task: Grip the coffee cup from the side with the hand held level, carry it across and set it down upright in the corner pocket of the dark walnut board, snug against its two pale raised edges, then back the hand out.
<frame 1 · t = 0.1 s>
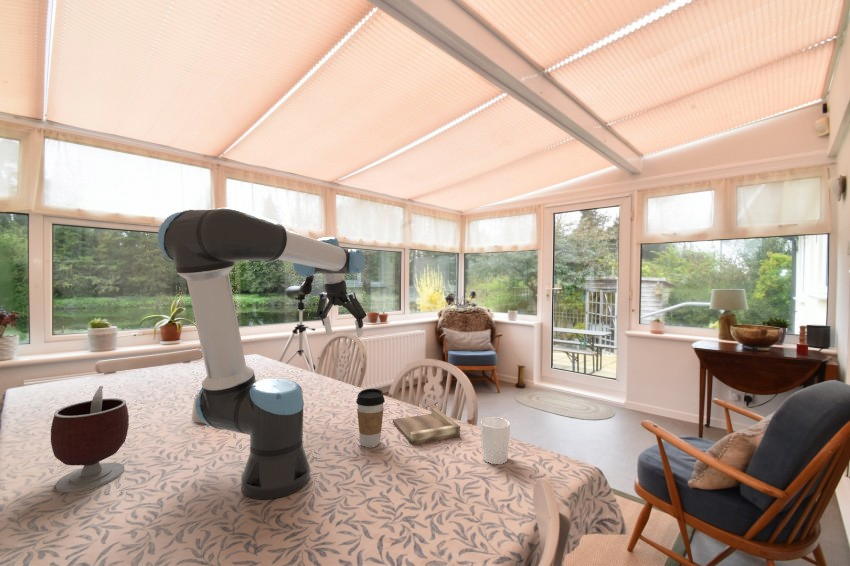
hand: (344, 334, 138), 28 cm above the table, tool tilted 20°, fingers open, 13 cm apart
coffee cup: (370, 443, 110), on the table
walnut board: (424, 429, 120), on the table
white cup: (494, 459, 101), on the table
mate gourd: (92, 477, 90), on the table
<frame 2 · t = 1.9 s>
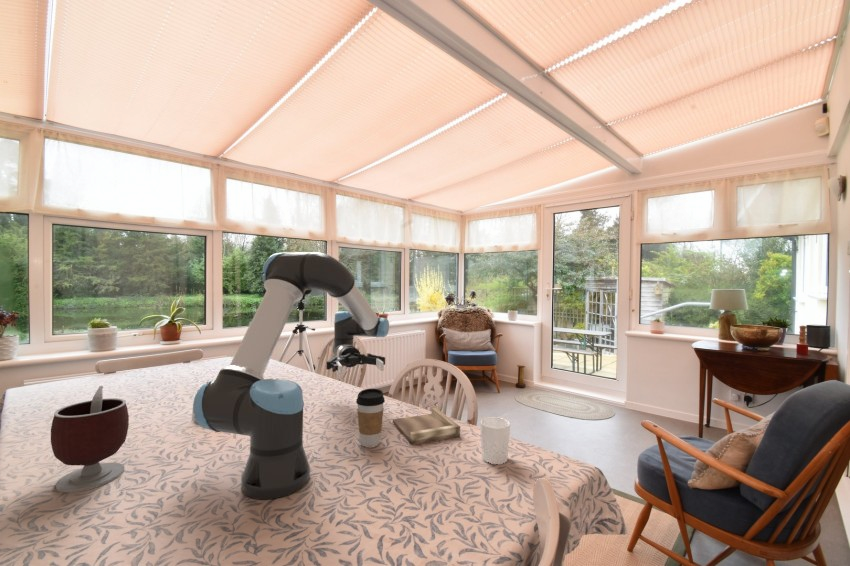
hand: (362, 368, 119), 20 cm above the table, tool horizontal, fingers open, 13 cm apart
nothing on the table moved.
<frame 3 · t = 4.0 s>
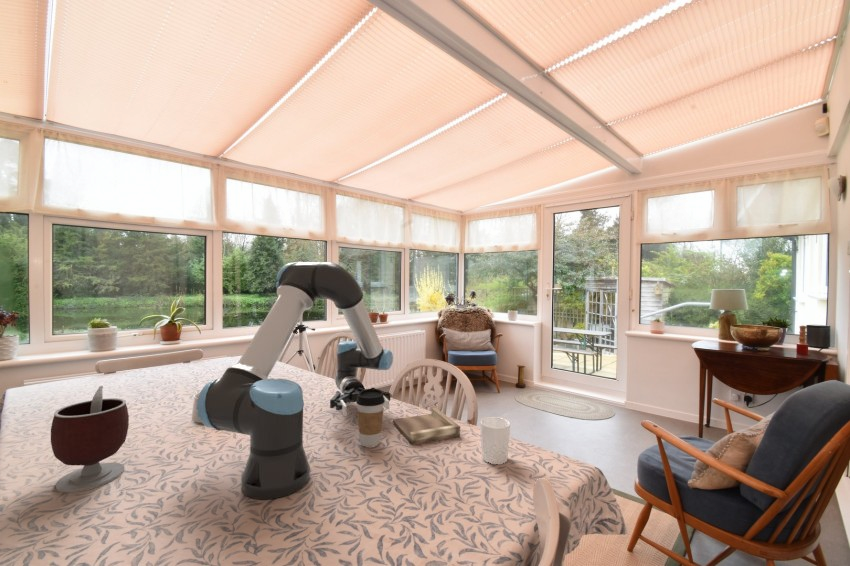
hand: (367, 407, 115), 8 cm above the table, tool horizontal, fingers open, 13 cm apart
nothing on the table moved.
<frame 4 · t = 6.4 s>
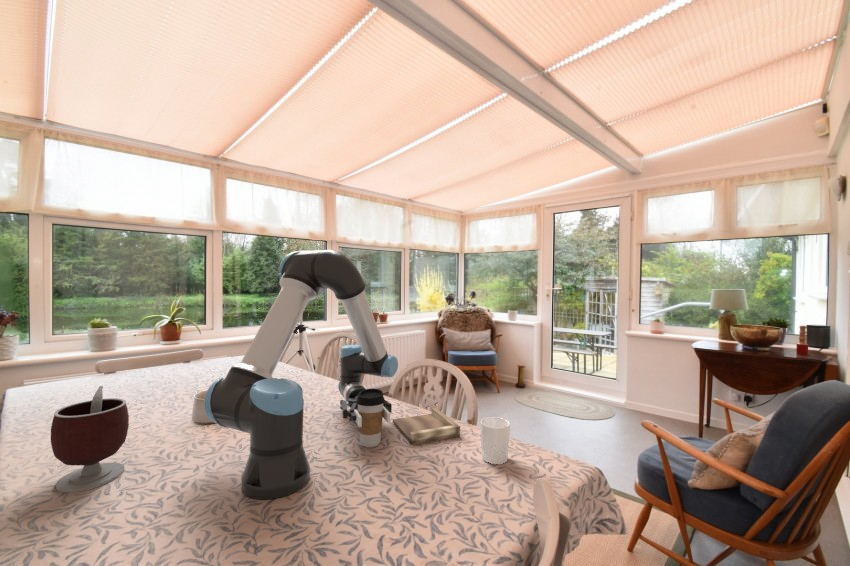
hand: (374, 420, 105), 9 cm above the table, tool horizontal, fingers closed on coffee cup, 8 cm apart
coffee cup: (370, 443, 110), on the table, touching gripper
everything else where it was.
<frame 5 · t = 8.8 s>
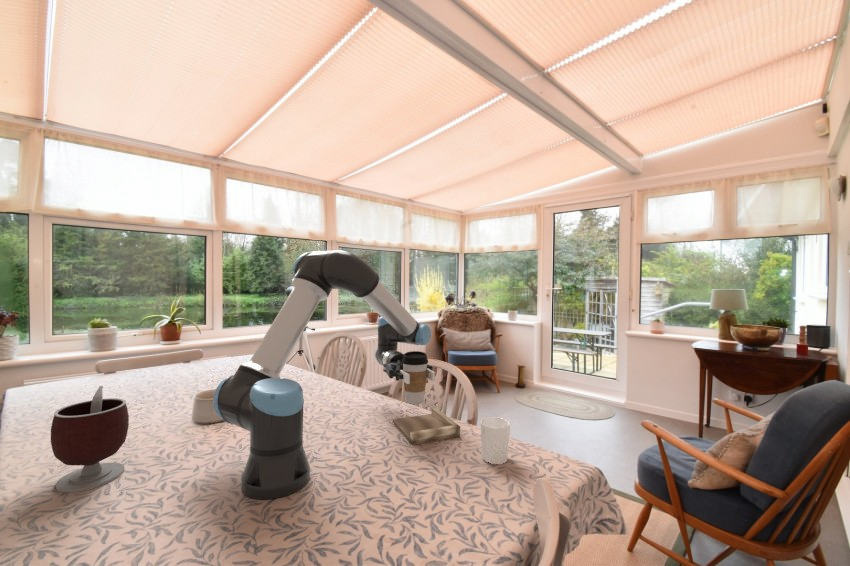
hand: (421, 378, 113), 19 cm above the table, tool horizontal, fingers closed on coffee cup, 8 cm apart
coffee cup: (414, 401, 117), point 10 cm above the table, touching gripper
everything else where it was.
when the fingers open (11 cm above the table, at t = 11.2 s): coffee cup drops 1 cm, resting on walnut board.
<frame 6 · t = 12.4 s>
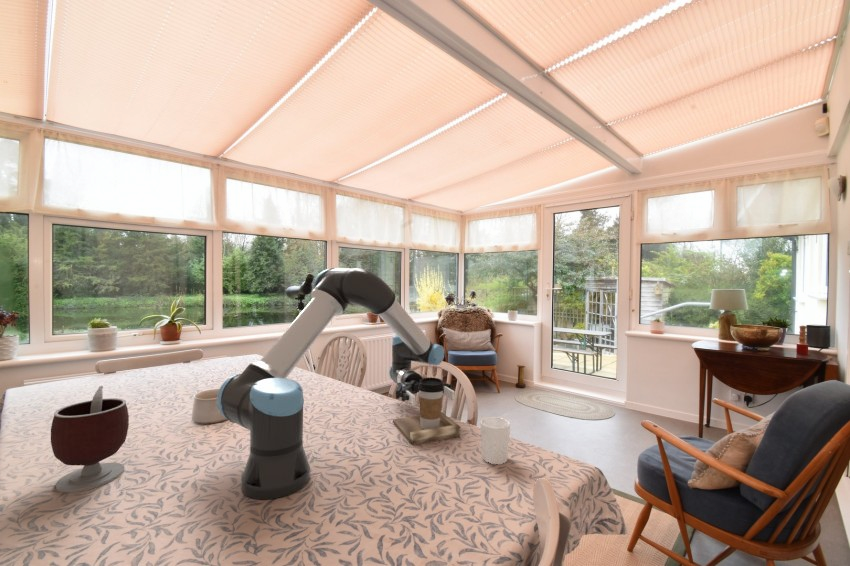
hand: (434, 398, 116), 11 cm above the table, tool horizontal, fingers open, 13 cm apart
coffee cup: (429, 427, 119), point 1 cm above the table, touching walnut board
everything else where it was.
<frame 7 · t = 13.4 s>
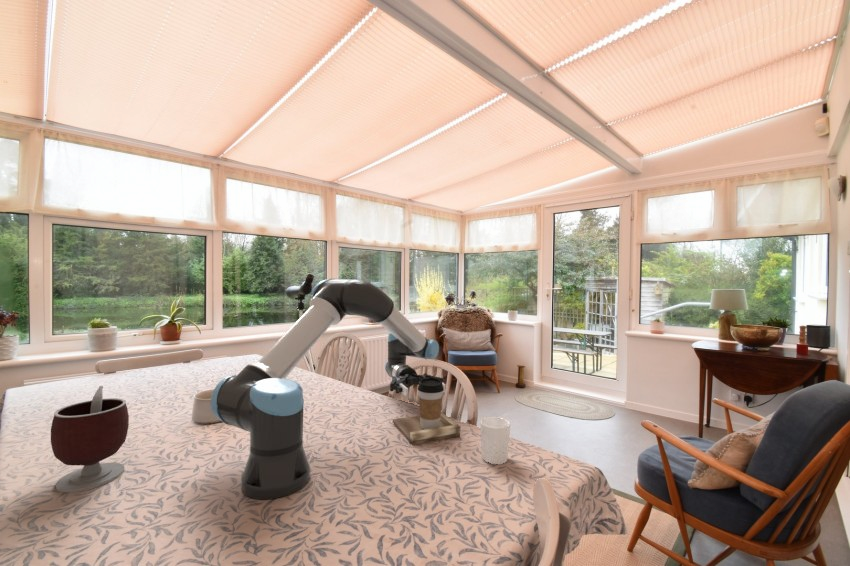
hand: (426, 390, 123), 12 cm above the table, tool horizontal, fingers open, 13 cm apart
nothing on the table moved.
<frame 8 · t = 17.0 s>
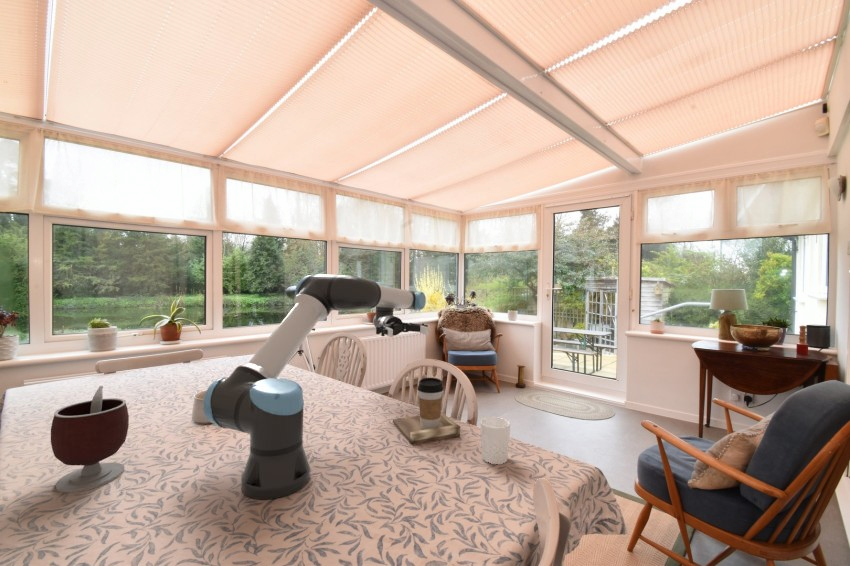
hand: (410, 332, 130), 30 cm above the table, tool horizontal, fingers open, 13 cm apart
nothing on the table moved.
at the end: coffee cup 0.5 cm from the target spot on the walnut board, point 1.0 cm above the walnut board's base; coffee cup tilted 0°; the gripper is holding nothing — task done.
